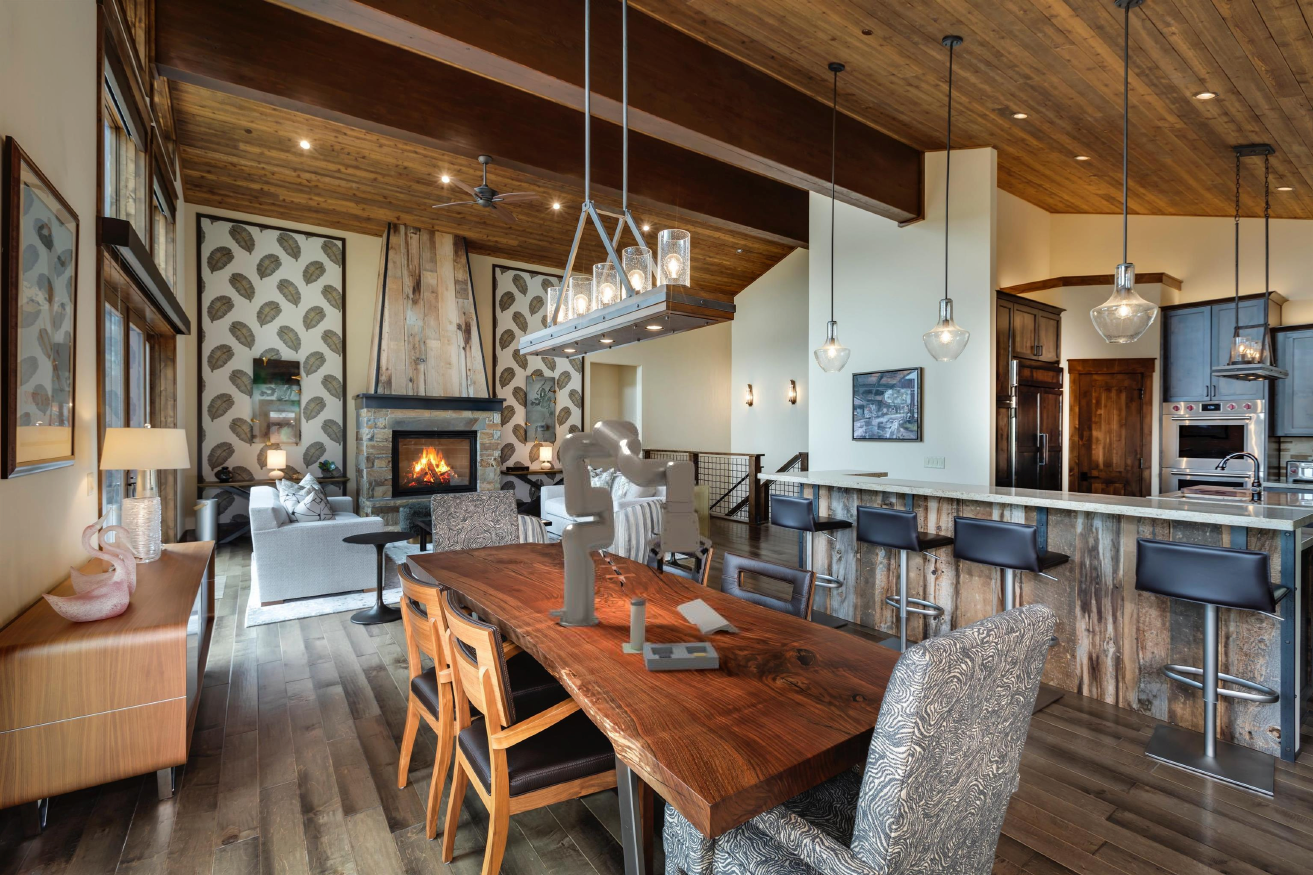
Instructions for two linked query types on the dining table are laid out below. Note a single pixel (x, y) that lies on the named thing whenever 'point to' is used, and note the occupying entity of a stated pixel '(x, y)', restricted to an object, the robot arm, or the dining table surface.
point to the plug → (637, 623)
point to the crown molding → (705, 617)
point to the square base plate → (628, 650)
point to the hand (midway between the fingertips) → (679, 572)
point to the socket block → (680, 656)
